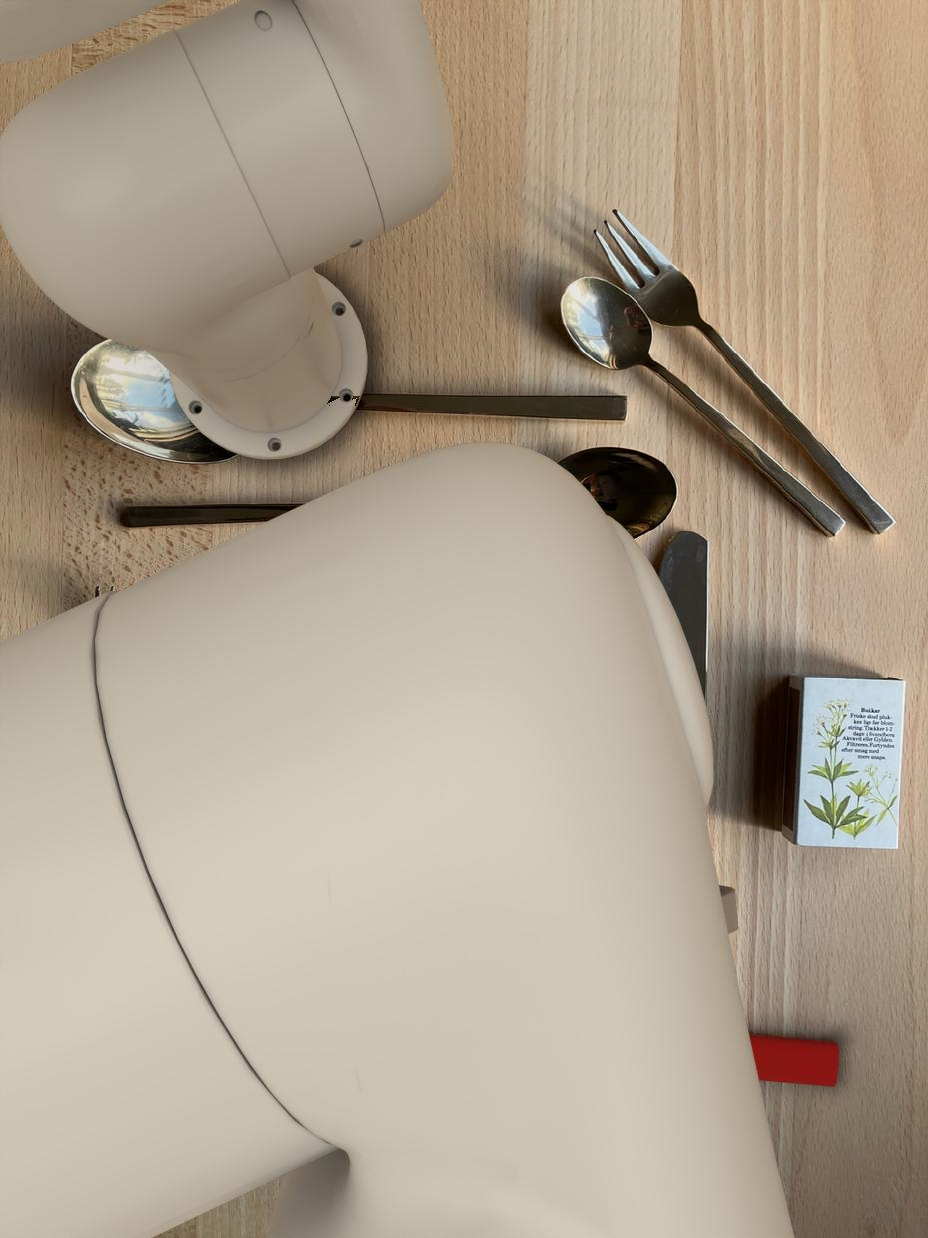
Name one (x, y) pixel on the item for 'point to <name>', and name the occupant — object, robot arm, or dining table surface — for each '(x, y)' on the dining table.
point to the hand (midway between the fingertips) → (472, 871)
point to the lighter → (795, 1060)
